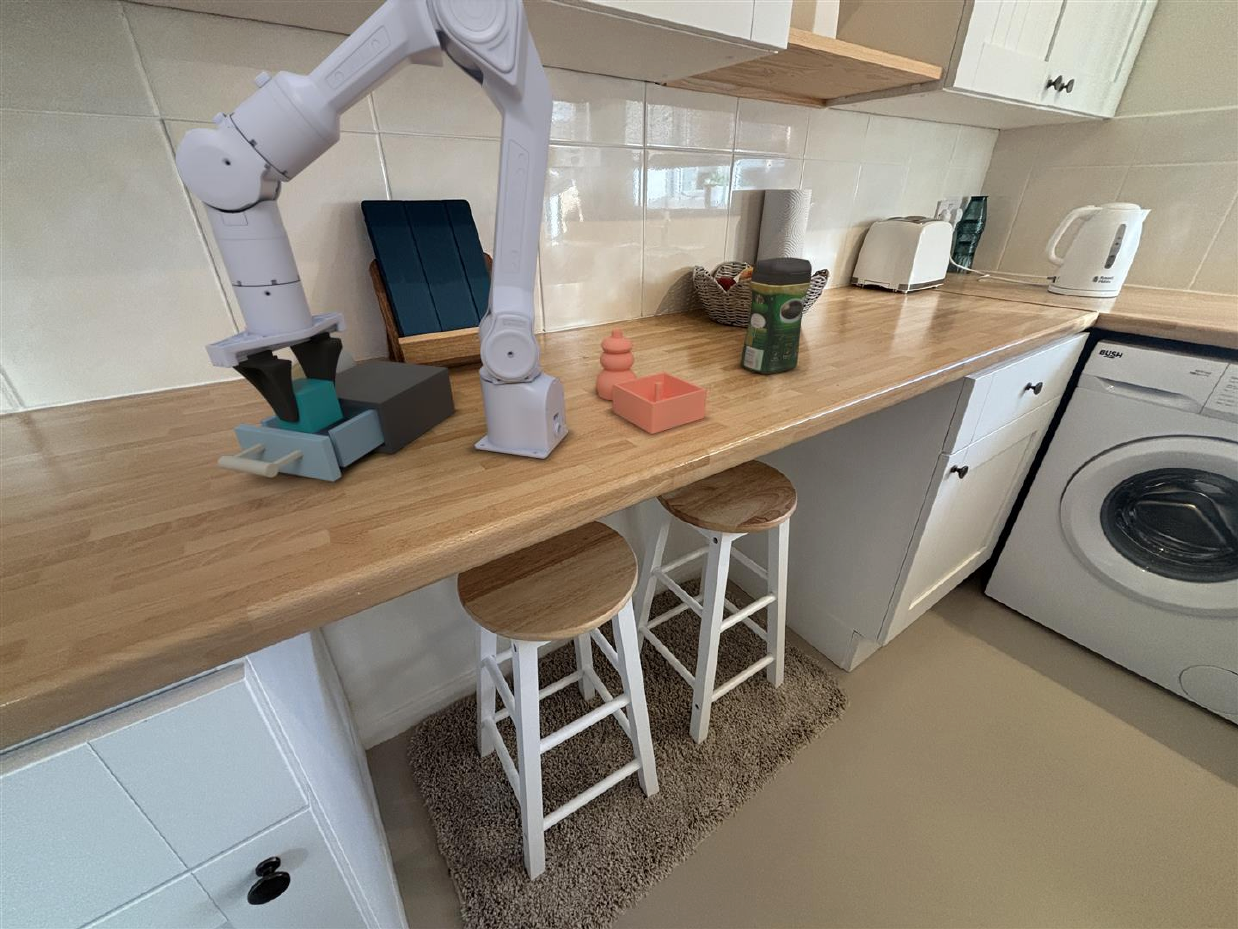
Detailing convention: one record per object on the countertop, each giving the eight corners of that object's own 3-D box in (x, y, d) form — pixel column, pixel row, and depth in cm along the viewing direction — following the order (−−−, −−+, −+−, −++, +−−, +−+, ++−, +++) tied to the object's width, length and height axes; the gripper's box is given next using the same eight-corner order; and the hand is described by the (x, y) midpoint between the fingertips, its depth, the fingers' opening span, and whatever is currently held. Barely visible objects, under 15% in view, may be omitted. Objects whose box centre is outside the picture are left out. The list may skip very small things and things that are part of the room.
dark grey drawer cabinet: (392, 454, 59) (380, 403, 56) (308, 441, 62) (291, 391, 59) (455, 412, 71) (447, 367, 67) (381, 402, 74) (370, 359, 70)
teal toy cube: (343, 417, 56) (332, 381, 54) (312, 433, 53) (300, 395, 51) (312, 413, 57) (300, 377, 55) (280, 428, 54) (266, 390, 52)
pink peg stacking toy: (704, 417, 69) (711, 348, 65) (651, 434, 65) (654, 361, 60) (629, 382, 82) (630, 322, 77) (580, 393, 77) (578, 330, 73)
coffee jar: (772, 358, 94) (789, 253, 85) (803, 370, 88) (824, 258, 79) (732, 365, 91) (745, 256, 82) (760, 378, 84) (778, 261, 75)
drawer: (298, 504, 48) (282, 461, 46) (209, 487, 51) (190, 445, 48) (408, 433, 62) (400, 397, 60) (334, 422, 65) (324, 388, 63)
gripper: (295, 270, 55) (329, 385, 61) (157, 292, 43) (218, 433, 49) (348, 272, 53) (377, 391, 60) (219, 297, 41) (274, 442, 48)
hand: (309, 411), depth 54 cm, fingers closed on teal toy cube, 4 cm apart
